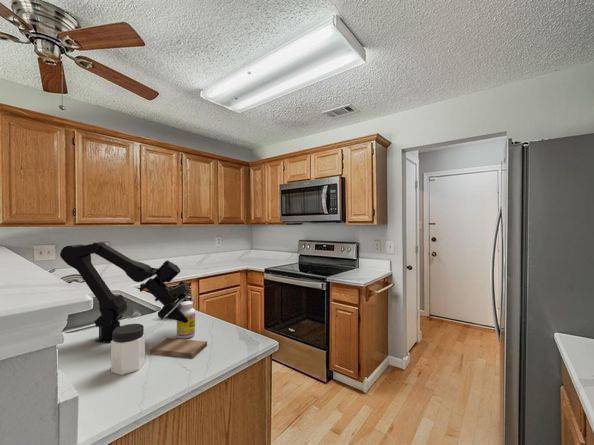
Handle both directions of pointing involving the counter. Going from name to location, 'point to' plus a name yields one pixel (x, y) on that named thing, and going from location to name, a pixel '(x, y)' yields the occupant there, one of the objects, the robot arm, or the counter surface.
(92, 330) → the counter surface
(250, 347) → the counter surface
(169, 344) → the walnut board
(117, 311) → the robot arm
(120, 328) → the jar
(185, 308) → the supplement bottle
